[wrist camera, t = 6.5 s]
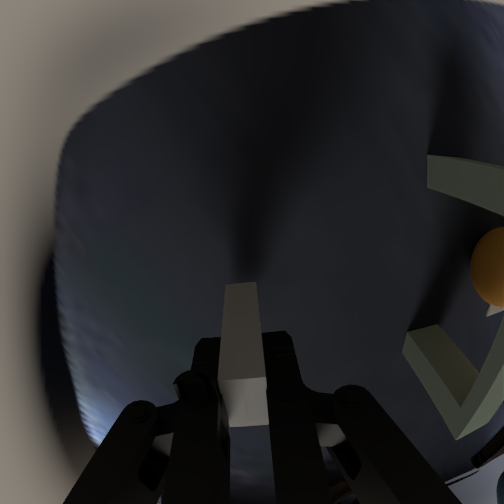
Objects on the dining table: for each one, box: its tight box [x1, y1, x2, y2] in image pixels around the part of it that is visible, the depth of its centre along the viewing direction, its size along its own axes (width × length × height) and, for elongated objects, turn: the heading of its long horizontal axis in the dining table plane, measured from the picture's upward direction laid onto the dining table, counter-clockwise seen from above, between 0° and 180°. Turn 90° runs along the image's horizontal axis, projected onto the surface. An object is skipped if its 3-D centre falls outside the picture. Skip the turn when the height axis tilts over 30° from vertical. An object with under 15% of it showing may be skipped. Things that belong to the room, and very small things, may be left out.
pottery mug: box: [329, 478, 360, 504], centre depth 26 cm, size 12×10×8 cm
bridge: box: [402, 155, 504, 440], centre depth 12 cm, size 3×14×9 cm, turn 5°
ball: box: [471, 227, 504, 307], centre depth 14 cm, size 6×6×6 cm
